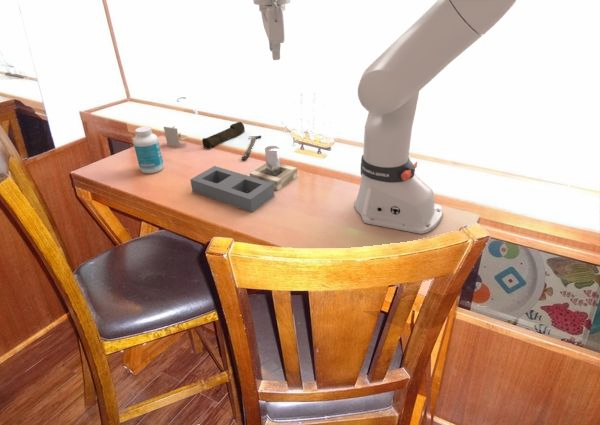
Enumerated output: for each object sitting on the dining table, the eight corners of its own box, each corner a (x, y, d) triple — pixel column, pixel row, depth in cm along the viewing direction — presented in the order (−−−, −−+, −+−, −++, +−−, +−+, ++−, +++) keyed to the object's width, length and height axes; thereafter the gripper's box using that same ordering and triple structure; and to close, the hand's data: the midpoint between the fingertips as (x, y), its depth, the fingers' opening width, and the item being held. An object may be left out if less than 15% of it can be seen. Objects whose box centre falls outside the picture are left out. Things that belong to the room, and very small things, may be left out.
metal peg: (283, 178, 131) (281, 147, 126) (275, 183, 128) (273, 152, 123) (272, 175, 133) (270, 144, 128) (264, 180, 130) (262, 149, 125)
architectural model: (173, 143, 158) (169, 123, 154) (189, 145, 156) (185, 125, 152) (167, 146, 155) (163, 126, 151) (183, 149, 153) (179, 129, 149)
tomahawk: (244, 139, 161) (243, 136, 160) (261, 137, 159) (261, 135, 159) (228, 163, 143) (228, 159, 142) (248, 161, 142) (247, 158, 141)
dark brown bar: (209, 150, 151) (208, 138, 148) (202, 147, 153) (200, 135, 150) (249, 134, 163) (248, 122, 160) (242, 131, 165) (241, 119, 162)
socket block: (297, 176, 132) (296, 167, 130) (277, 190, 125) (277, 181, 123) (270, 169, 136) (270, 160, 135) (250, 182, 129) (249, 173, 128)
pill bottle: (167, 170, 138) (158, 130, 131) (144, 176, 135) (133, 135, 128) (160, 162, 143) (151, 122, 136) (137, 167, 140) (127, 128, 133)
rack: (274, 196, 122) (273, 183, 120) (251, 212, 115) (250, 199, 113) (216, 177, 133) (214, 165, 131) (192, 191, 126) (190, 179, 124)
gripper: (289, -1, 96) (291, 64, 103) (280, -10, 113) (283, 46, 121) (260, 1, 95) (265, 65, 103) (256, -9, 112) (260, 47, 120)
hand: (274, 55), depth 112 cm, fingers open, 8 cm apart
